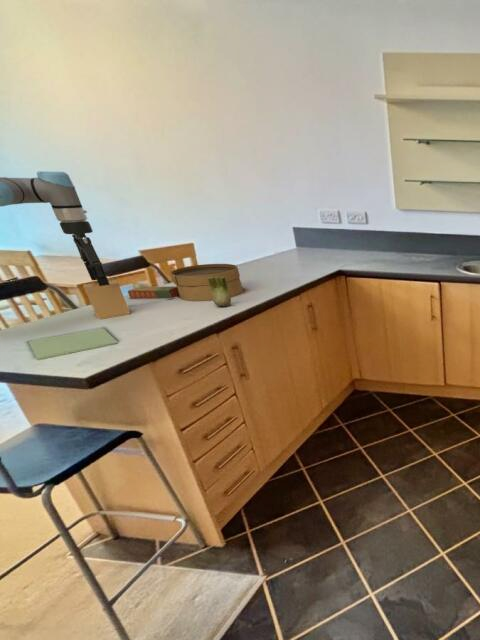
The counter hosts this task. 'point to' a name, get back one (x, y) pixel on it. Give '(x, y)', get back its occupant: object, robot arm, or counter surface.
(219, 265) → the steamer basket
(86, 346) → the mat
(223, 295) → the fennel bulb
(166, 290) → the carton
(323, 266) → the counter surface
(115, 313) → the packet
